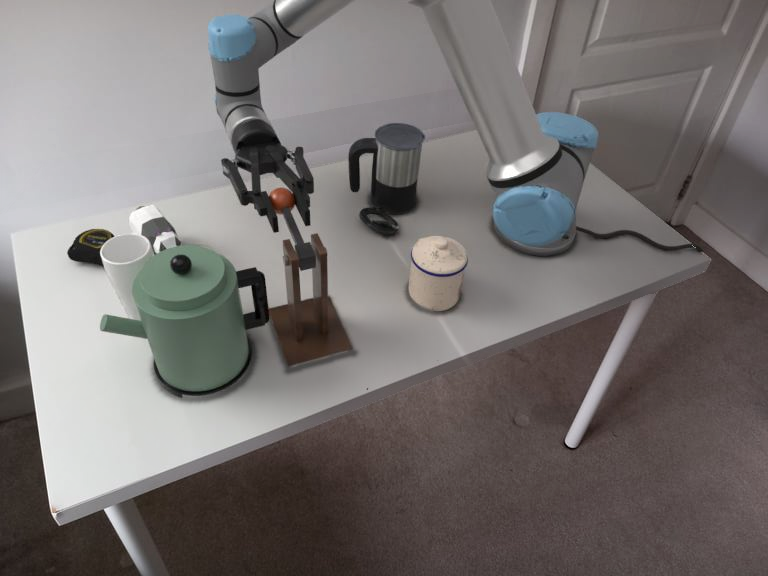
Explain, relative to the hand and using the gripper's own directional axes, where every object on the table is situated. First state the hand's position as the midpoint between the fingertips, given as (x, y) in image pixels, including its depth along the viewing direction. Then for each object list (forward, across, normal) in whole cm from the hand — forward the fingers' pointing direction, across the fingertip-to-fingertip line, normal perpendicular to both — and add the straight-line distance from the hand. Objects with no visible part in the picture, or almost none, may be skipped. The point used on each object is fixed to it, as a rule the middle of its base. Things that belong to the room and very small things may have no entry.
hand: (291, 221), depth 85 cm
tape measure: (-21, +29, -18) cm, 40 cm away
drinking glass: (-4, +23, -17) cm, 29 cm away
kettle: (+7, +16, -17) cm, 24 cm away
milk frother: (-18, -24, -17) cm, 34 cm away
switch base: (+6, 0, -17) cm, 18 cm away
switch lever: (0, 0, -3) cm, 3 cm away
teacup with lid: (+4, -22, -17) cm, 28 cm away
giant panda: (-18, +18, -17) cm, 31 cm away
